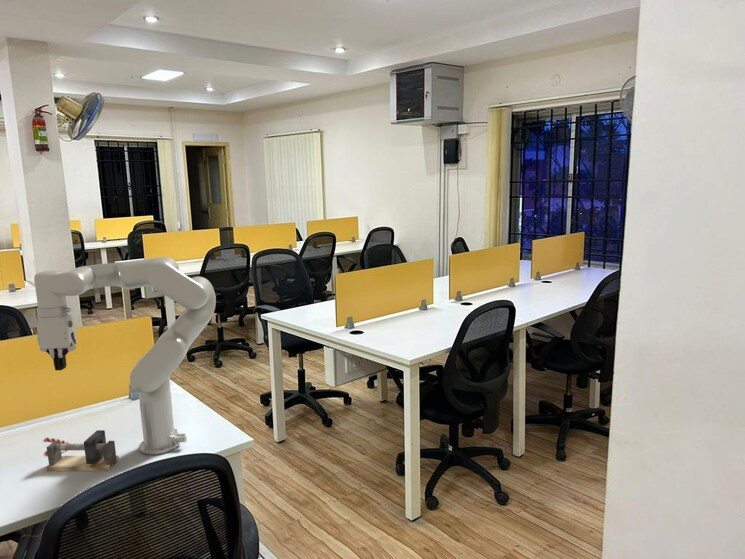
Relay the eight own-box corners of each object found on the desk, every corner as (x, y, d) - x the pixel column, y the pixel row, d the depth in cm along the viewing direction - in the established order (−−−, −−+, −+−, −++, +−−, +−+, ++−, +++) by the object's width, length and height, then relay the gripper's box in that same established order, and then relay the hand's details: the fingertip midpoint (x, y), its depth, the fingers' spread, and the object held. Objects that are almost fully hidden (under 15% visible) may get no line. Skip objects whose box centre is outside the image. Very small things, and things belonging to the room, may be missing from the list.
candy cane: (55, 433, 188) (75, 445, 179) (55, 437, 188) (75, 449, 179) (30, 442, 182) (49, 455, 173) (31, 446, 182) (50, 459, 173)
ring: (107, 451, 171) (104, 430, 170) (94, 464, 164) (91, 441, 162) (99, 451, 171) (97, 430, 170) (86, 464, 164) (83, 441, 163)
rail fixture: (119, 459, 171) (116, 438, 170) (107, 470, 164) (105, 449, 163) (60, 459, 172) (57, 438, 171) (46, 471, 165) (43, 449, 164)
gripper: (84, 308, 169) (90, 364, 172) (37, 309, 170) (44, 365, 173) (70, 314, 162) (77, 373, 165) (21, 315, 162) (29, 373, 166)
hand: (60, 368), depth 169 cm, fingers closed
